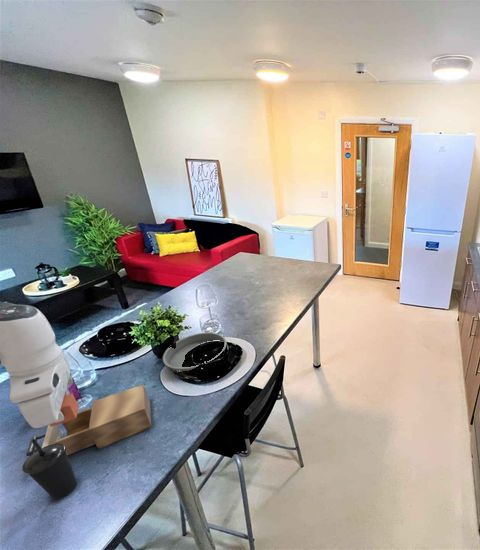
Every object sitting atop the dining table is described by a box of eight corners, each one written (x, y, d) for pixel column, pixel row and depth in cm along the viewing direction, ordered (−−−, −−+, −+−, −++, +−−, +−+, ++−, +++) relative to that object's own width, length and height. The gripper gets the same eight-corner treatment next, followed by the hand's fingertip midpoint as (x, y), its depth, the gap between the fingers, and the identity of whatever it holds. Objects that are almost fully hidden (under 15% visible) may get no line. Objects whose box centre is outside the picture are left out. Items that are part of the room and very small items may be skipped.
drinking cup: (38, 510, 74) (1, 460, 66) (53, 481, 80) (21, 432, 72) (77, 498, 77) (46, 448, 69) (88, 471, 83) (61, 422, 75)
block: (50, 427, 71) (43, 413, 69) (54, 413, 74) (47, 400, 72) (76, 418, 74) (69, 405, 72) (78, 405, 77) (72, 393, 75)
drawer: (30, 473, 81) (19, 457, 79) (39, 442, 90) (30, 426, 87) (107, 441, 91) (99, 426, 88) (109, 416, 99) (102, 401, 96)
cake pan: (160, 353, 130) (158, 345, 128) (219, 333, 145) (217, 326, 143) (170, 386, 113) (167, 377, 111) (235, 360, 128) (233, 352, 126)
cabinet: (98, 449, 89) (88, 429, 86) (101, 419, 98) (92, 401, 95) (151, 426, 97) (144, 408, 93) (149, 401, 106) (143, 384, 102)
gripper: (32, 349, 73) (53, 390, 79) (6, 404, 59) (34, 449, 64) (67, 341, 77) (84, 380, 83) (50, 391, 62) (72, 435, 68)
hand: (62, 411), depth 73 cm, fingers closed on block, 4 cm apart
